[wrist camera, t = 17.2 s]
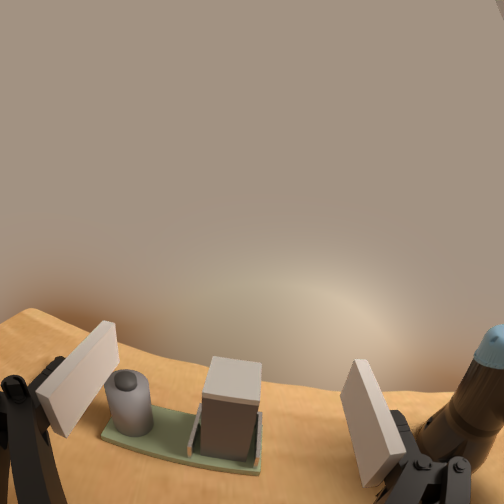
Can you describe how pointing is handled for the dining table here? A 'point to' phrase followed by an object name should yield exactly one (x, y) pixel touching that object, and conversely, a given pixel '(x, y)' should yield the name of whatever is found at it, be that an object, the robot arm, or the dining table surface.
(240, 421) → the grey block
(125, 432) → the desk organizer stand
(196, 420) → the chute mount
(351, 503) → the dining table surface
